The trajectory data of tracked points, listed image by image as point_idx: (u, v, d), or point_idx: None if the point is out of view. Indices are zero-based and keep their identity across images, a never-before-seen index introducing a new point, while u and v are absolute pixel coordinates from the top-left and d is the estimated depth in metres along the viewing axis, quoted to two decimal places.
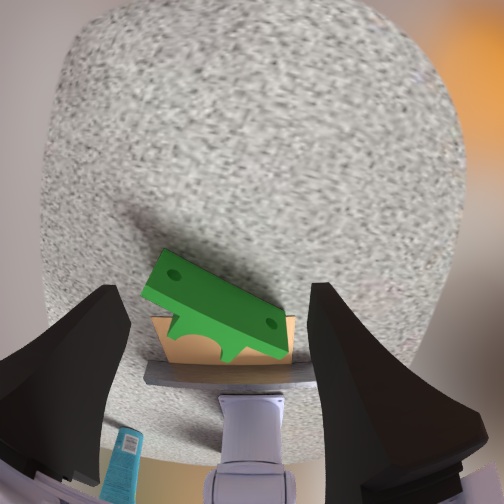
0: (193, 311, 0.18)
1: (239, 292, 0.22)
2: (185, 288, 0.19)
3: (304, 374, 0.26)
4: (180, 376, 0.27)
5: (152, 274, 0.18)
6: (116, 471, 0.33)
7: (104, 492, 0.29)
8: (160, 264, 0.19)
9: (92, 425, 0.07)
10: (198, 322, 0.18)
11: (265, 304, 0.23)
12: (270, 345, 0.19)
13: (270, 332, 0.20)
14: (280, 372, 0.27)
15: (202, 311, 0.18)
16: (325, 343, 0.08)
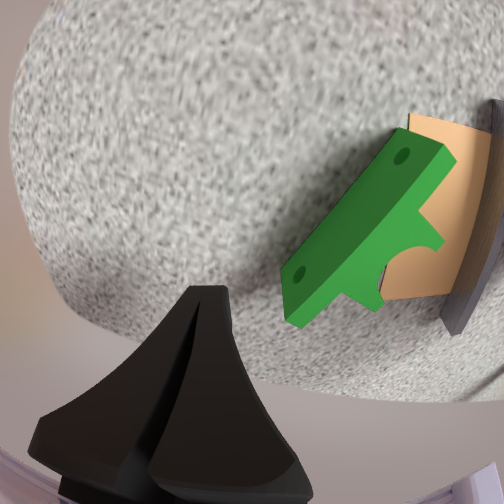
0: (335, 275, 0.12)
1: (353, 189, 0.14)
2: (313, 269, 0.14)
3: None
4: (466, 291, 0.16)
5: (284, 303, 0.15)
6: None
7: None
8: (285, 285, 0.16)
9: None
10: (356, 271, 0.12)
11: (380, 155, 0.13)
12: (424, 173, 0.10)
13: (409, 163, 0.11)
14: (499, 155, 0.12)
15: (339, 263, 0.12)
16: None
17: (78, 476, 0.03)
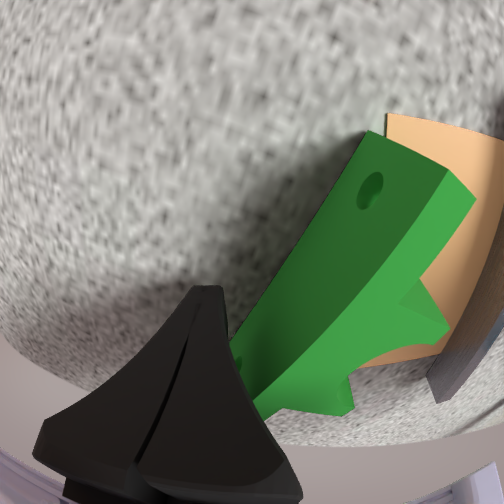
0: (264, 395, 0.08)
1: (301, 245, 0.10)
2: (246, 370, 0.09)
3: None
4: (461, 358, 0.12)
5: None
6: None
7: None
8: None
9: None
10: (297, 390, 0.08)
11: (339, 184, 0.09)
12: (406, 239, 0.05)
13: (380, 211, 0.06)
14: None
15: (267, 380, 0.08)
16: None
17: (85, 479, 0.02)
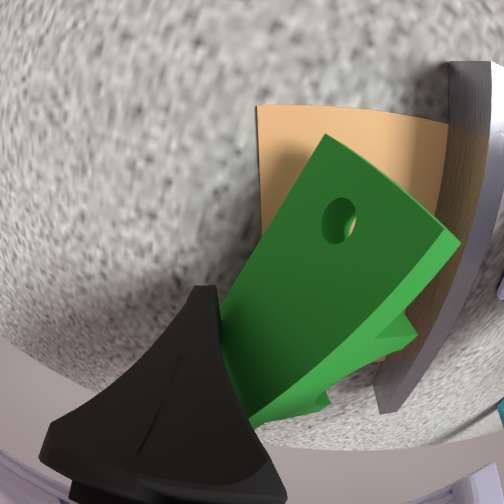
0: (250, 420, 0.08)
1: (255, 264, 0.09)
2: None
3: (474, 96, 0.06)
4: (400, 368, 0.12)
5: None
6: None
7: None
8: None
9: None
10: (279, 410, 0.08)
11: (293, 198, 0.08)
12: (390, 297, 0.05)
13: (356, 254, 0.06)
14: (461, 161, 0.07)
15: (250, 409, 0.08)
16: None
17: (94, 482, 0.02)
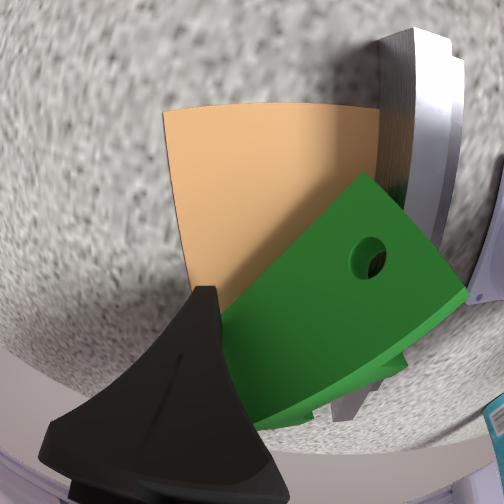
0: None
1: (270, 280, 0.09)
2: None
3: (399, 72, 0.06)
4: None
5: None
6: None
7: None
8: None
9: None
10: (273, 421, 0.08)
11: (322, 225, 0.08)
12: (408, 335, 0.05)
13: (381, 292, 0.06)
14: (390, 149, 0.07)
15: None
16: None
17: (93, 482, 0.02)
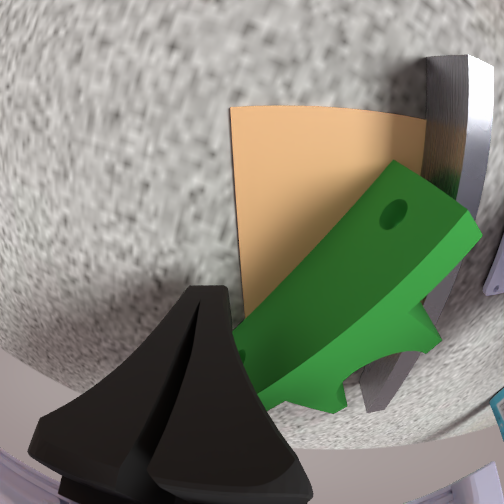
0: (274, 387, 0.08)
1: (318, 252, 0.10)
2: (252, 363, 0.10)
3: (451, 91, 0.06)
4: (384, 366, 0.12)
5: None
6: None
7: None
8: None
9: None
10: (305, 383, 0.08)
11: (361, 203, 0.09)
12: (426, 260, 0.06)
13: (403, 233, 0.07)
14: (439, 157, 0.08)
15: (280, 373, 0.08)
16: None
17: (78, 476, 0.03)
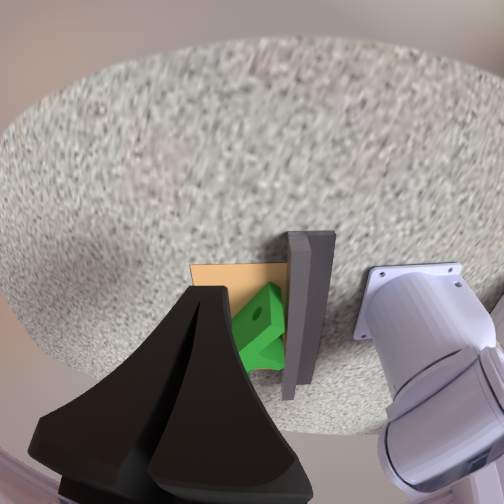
0: None
1: (234, 319, 0.23)
2: None
3: (289, 260, 0.18)
4: (283, 374, 0.25)
5: None
6: None
7: None
8: None
9: None
10: None
11: (252, 300, 0.22)
12: (256, 338, 0.18)
13: (255, 324, 0.19)
14: (287, 285, 0.20)
15: None
16: None
17: (78, 476, 0.03)
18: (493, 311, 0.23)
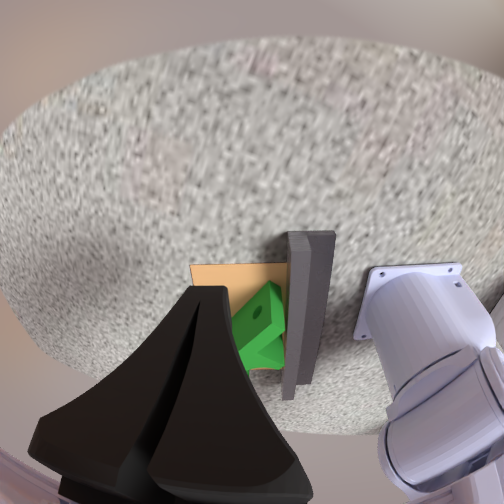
0: None
1: (234, 318, 0.22)
2: None
3: (289, 260, 0.18)
4: (283, 374, 0.25)
5: None
6: None
7: None
8: None
9: None
10: None
11: (252, 299, 0.22)
12: (257, 337, 0.18)
13: (255, 323, 0.19)
14: (287, 285, 0.20)
15: None
16: None
17: (78, 476, 0.03)
18: (493, 311, 0.23)
